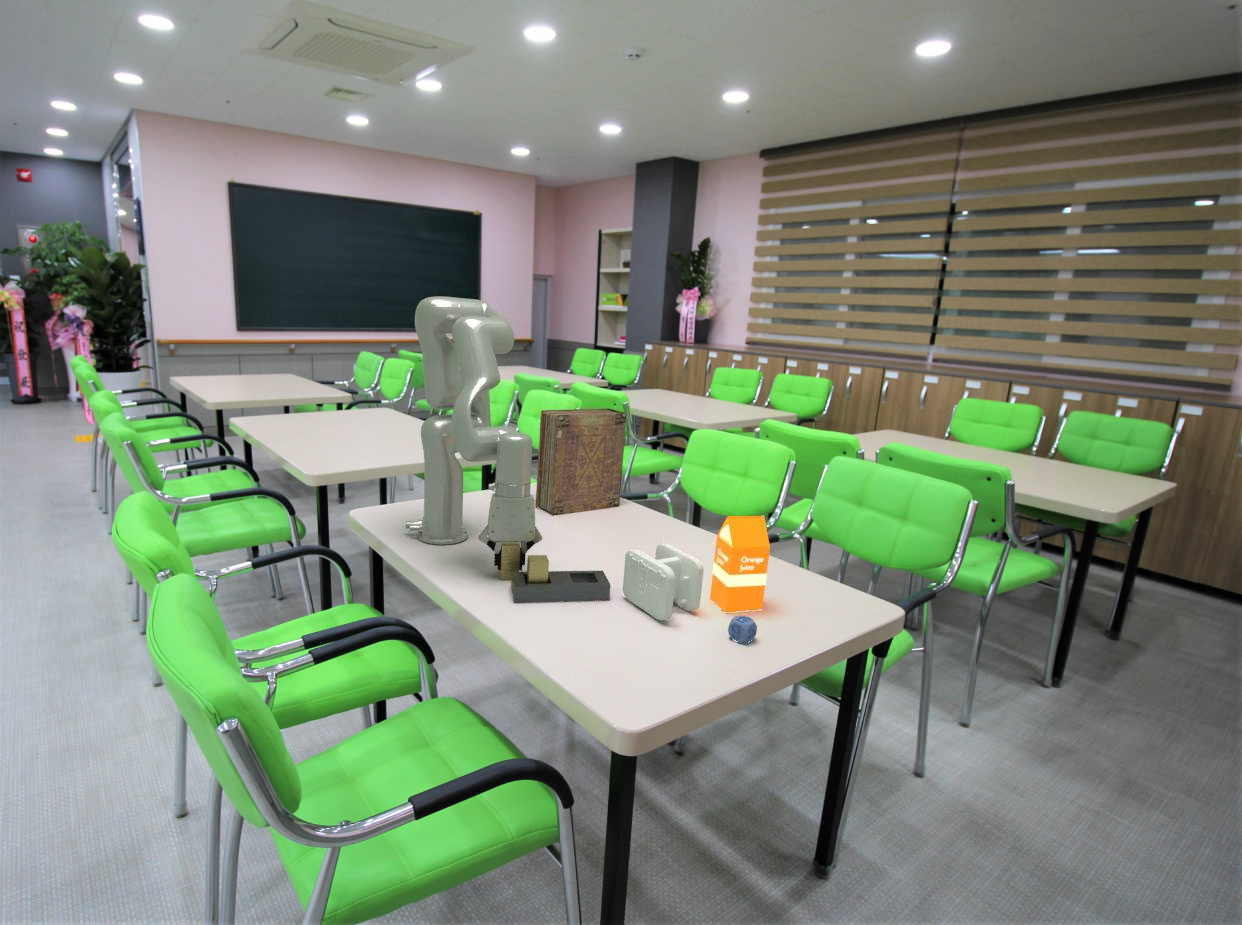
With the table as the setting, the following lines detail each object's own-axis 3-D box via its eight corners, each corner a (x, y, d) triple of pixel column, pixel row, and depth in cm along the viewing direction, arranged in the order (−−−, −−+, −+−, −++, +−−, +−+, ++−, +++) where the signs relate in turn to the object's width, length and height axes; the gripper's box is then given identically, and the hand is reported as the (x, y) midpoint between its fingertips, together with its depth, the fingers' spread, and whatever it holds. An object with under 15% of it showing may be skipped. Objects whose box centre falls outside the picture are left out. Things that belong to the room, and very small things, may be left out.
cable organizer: (702, 616, 138) (708, 563, 136) (661, 627, 132) (667, 571, 130) (658, 590, 150) (662, 540, 148) (618, 598, 144) (623, 546, 142)
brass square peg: (500, 580, 149) (501, 545, 147) (499, 573, 152) (500, 539, 151) (518, 579, 150) (520, 545, 148) (517, 573, 153) (519, 539, 152)
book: (551, 516, 198) (556, 415, 192) (535, 507, 205) (540, 410, 199) (619, 506, 213) (626, 412, 207) (602, 499, 220) (609, 408, 214)
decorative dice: (755, 639, 130) (758, 620, 129) (744, 646, 127) (747, 626, 126) (738, 632, 132) (740, 613, 132) (726, 638, 130) (729, 619, 129)
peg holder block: (513, 602, 138) (515, 565, 136) (511, 587, 145) (512, 552, 144) (609, 600, 143) (612, 564, 141) (601, 585, 150) (604, 551, 148)
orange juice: (762, 611, 143) (774, 521, 139) (724, 614, 140) (735, 522, 136) (745, 596, 150) (756, 510, 146) (709, 598, 148) (718, 510, 143)
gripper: (473, 493, 141) (471, 575, 145) (553, 494, 145) (548, 574, 149) (473, 484, 148) (470, 562, 152) (549, 485, 152) (544, 561, 156)
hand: (509, 567), depth 151 cm, fingers closed on brass square peg, 4 cm apart
